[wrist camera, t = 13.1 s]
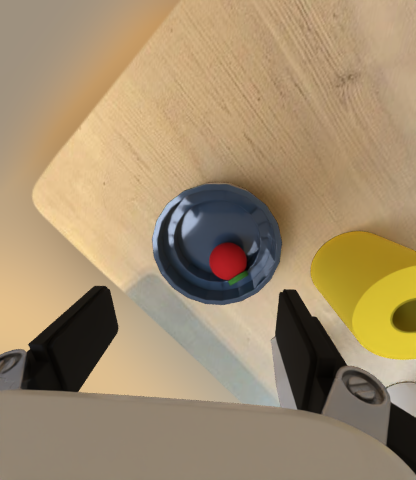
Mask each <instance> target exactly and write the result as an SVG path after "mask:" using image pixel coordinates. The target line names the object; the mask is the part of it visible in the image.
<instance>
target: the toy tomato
mask: <svg viewBox="0 0 416 480" xmlns="http://www.w3.org/2000/svg"><path fill="white" fill-rule="evenodd" d="M209 264H210V268H211V270H212V272H213V273H214V274H215V275H216V276H217V277H219V278H221V279H224V280H229V281H228V283H229V285H230V286H231V285H233V284H235V283H237V282H238V281H240V280H242V279H243V278H245V277H246V276H248V275H249V274H248V272H247V271H245V268H246V265H247V258H246V255H245V253H244V251H243V250H242V248H241V247H239V246H238V245H236V244H234V243H222V244H220V245H218V246H216V247H215V248H214V249H213V251H212V252H211V255H210V258H209Z"/></svg>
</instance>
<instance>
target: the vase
mask: <svg viewBox="0 0 416 480" xmlns="http://www.w3.org/2000/svg"><path fill="white" fill-rule="evenodd" d="M386 389H387V391H388V393H389V395H390V400H391V402H392V403H393V404H395V405H397V406H398V407H400V408H401V409H403V410H404V411H406V412H408V413H409V414H411V415H412V416H414V417H416V383H411V382H405V383H398V384H395V385H392V386H390V387H388V388H386Z"/></svg>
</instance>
